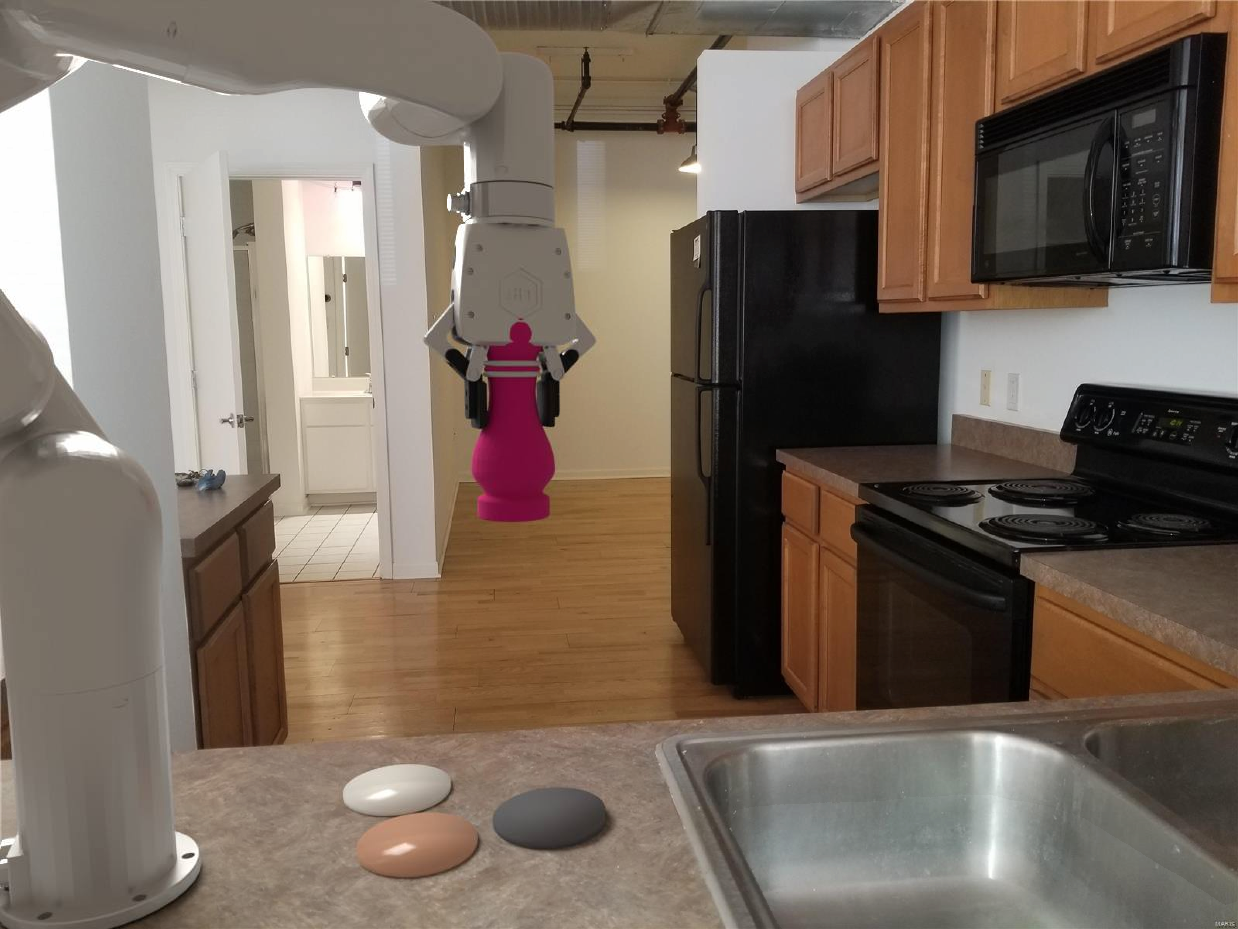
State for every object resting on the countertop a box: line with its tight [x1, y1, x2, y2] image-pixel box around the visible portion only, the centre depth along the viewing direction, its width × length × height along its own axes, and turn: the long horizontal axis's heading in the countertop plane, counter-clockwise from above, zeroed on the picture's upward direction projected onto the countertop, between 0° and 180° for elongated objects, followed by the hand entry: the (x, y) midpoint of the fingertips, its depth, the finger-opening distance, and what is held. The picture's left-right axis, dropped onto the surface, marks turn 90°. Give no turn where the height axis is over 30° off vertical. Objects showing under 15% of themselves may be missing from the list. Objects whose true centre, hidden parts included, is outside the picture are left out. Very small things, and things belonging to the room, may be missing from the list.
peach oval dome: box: [355, 811, 479, 878], centre depth 73 cm, size 9×9×1 cm
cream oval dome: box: [342, 763, 452, 817], centre depth 82 cm, size 9×9×1 cm
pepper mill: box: [470, 318, 556, 523], centre depth 82 cm, size 7×7×20 cm
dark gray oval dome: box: [492, 786, 607, 850], centre depth 77 cm, size 9×9×1 cm
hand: (512, 424), depth 83 cm, fingers closed on pepper mill, 5 cm apart
